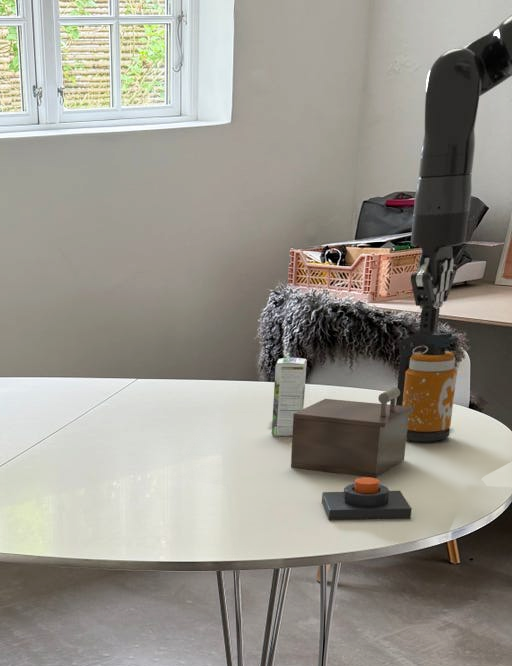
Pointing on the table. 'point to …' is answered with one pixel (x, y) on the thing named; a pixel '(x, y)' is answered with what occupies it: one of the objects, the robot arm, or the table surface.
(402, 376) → the canister
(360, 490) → the button
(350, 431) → the brown wooden box
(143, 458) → the table surface
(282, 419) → the syrup box
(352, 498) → the control block
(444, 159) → the robot arm
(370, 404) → the brown box lid
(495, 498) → the table surface
